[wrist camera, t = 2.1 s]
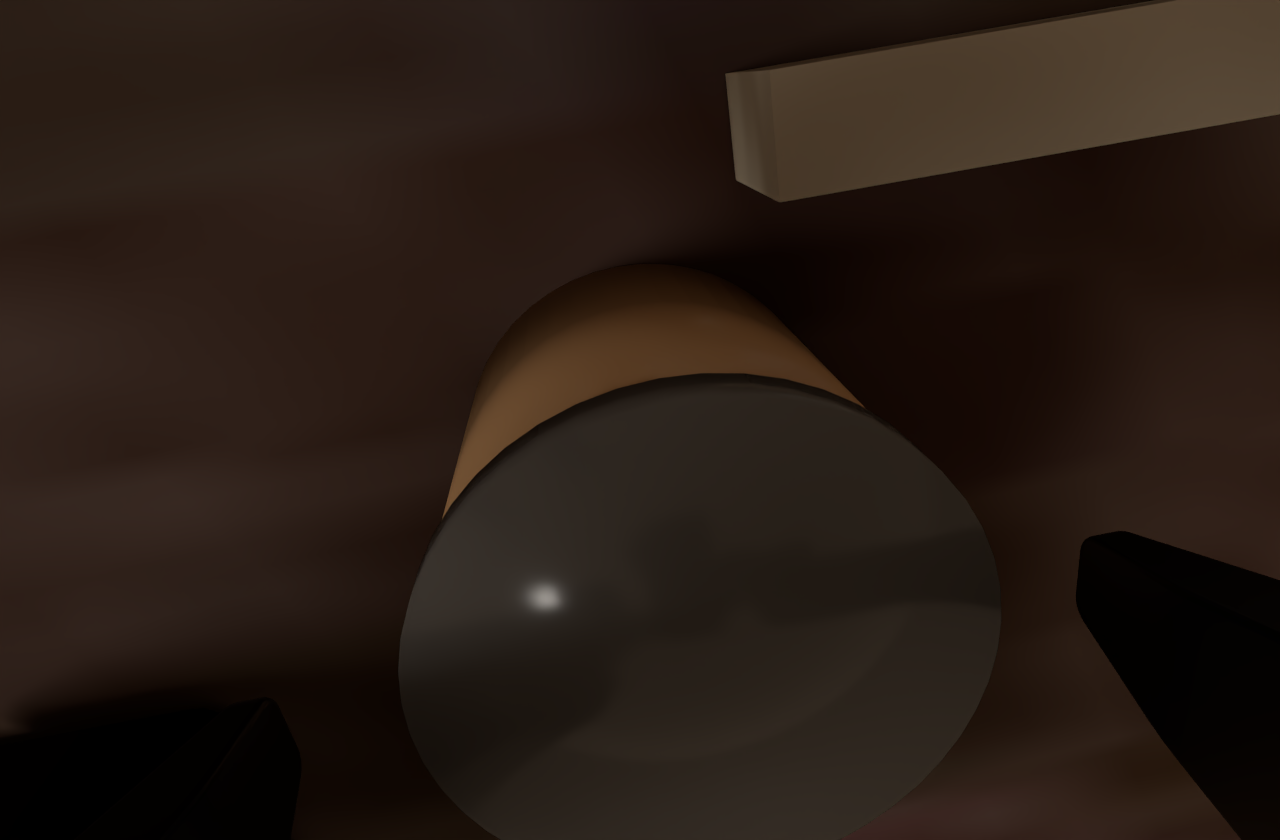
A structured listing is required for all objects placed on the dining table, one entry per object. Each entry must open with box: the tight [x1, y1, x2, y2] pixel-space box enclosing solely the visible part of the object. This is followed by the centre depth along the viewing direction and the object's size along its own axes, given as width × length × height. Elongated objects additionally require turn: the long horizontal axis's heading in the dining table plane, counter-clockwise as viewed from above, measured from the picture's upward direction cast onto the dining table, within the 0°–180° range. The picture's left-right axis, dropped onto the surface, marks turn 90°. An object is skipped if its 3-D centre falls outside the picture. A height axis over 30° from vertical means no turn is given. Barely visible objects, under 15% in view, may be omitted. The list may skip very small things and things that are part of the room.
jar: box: [398, 264, 1001, 840], centre depth 11 cm, size 6×6×6 cm
